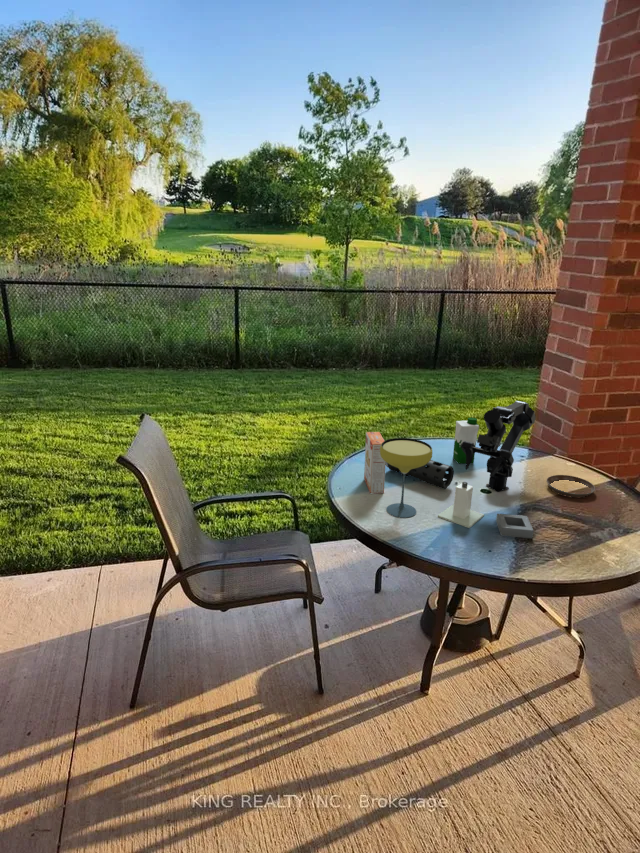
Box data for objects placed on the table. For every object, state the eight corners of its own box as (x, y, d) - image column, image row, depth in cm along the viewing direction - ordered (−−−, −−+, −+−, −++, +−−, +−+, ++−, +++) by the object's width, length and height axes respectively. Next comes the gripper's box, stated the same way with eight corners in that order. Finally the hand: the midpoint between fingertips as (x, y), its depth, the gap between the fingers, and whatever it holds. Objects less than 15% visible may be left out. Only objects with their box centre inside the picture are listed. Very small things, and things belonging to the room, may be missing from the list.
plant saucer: (571, 503, 198) (573, 496, 197) (535, 485, 213) (537, 478, 212) (603, 496, 205) (605, 489, 204) (567, 478, 220) (568, 472, 219)
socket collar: (496, 521, 183) (497, 513, 182) (525, 523, 182) (526, 516, 181) (500, 535, 174) (502, 527, 173) (532, 538, 173) (533, 530, 172)
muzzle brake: (440, 493, 204) (443, 469, 200) (382, 473, 222) (384, 450, 218) (453, 486, 210) (455, 462, 207) (395, 467, 228) (397, 445, 225)
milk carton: (476, 464, 233) (481, 421, 226) (456, 464, 232) (461, 422, 225) (468, 456, 241) (473, 415, 235) (450, 457, 240) (454, 416, 234)
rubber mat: (453, 505, 194) (453, 503, 194) (484, 515, 187) (484, 514, 187) (437, 516, 185) (437, 515, 185) (469, 528, 178) (469, 526, 178)
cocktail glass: (370, 517, 184) (374, 451, 176) (383, 496, 200) (387, 434, 192) (421, 527, 178) (427, 459, 170) (430, 504, 194) (436, 442, 186)
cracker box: (363, 479, 215) (365, 431, 208) (377, 479, 216) (380, 431, 209) (368, 494, 202) (371, 443, 195) (384, 493, 202) (387, 443, 196)
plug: (458, 510, 189) (461, 479, 185) (469, 514, 186) (473, 482, 182) (452, 515, 186) (456, 483, 182) (464, 519, 183) (468, 486, 179)
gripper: (465, 420, 194) (448, 455, 189) (515, 431, 182) (498, 469, 178) (472, 435, 202) (456, 469, 197) (520, 446, 191) (504, 483, 186)
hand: (478, 472), depth 189 cm, fingers open, 9 cm apart
